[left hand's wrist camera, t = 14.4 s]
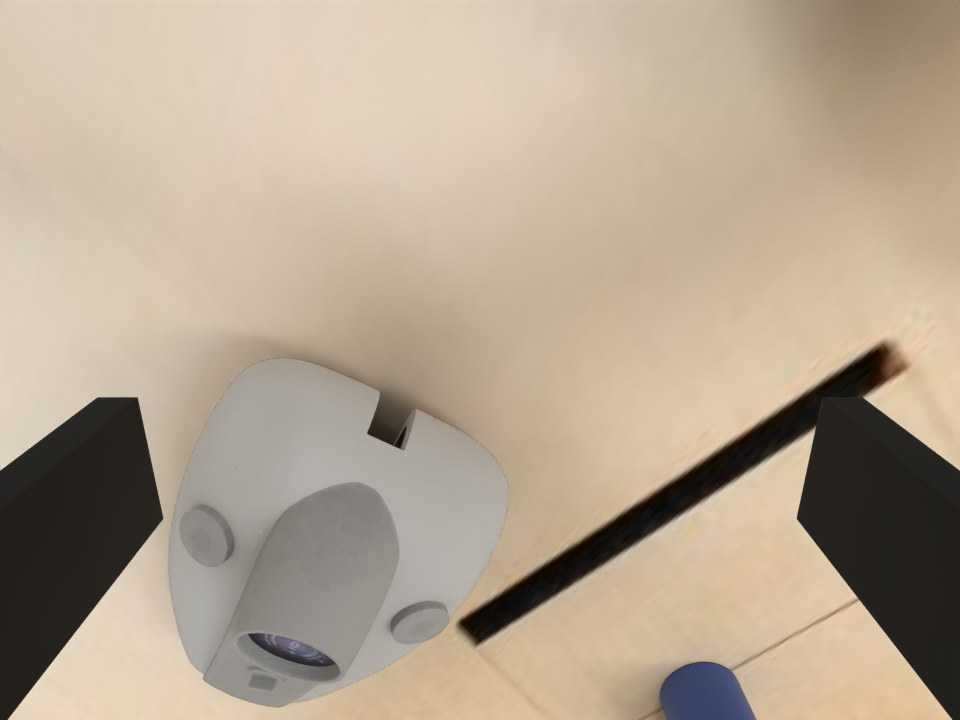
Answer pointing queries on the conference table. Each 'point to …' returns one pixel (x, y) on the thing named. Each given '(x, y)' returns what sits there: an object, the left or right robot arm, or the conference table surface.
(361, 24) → the conference table surface
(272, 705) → the projector
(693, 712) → the can
